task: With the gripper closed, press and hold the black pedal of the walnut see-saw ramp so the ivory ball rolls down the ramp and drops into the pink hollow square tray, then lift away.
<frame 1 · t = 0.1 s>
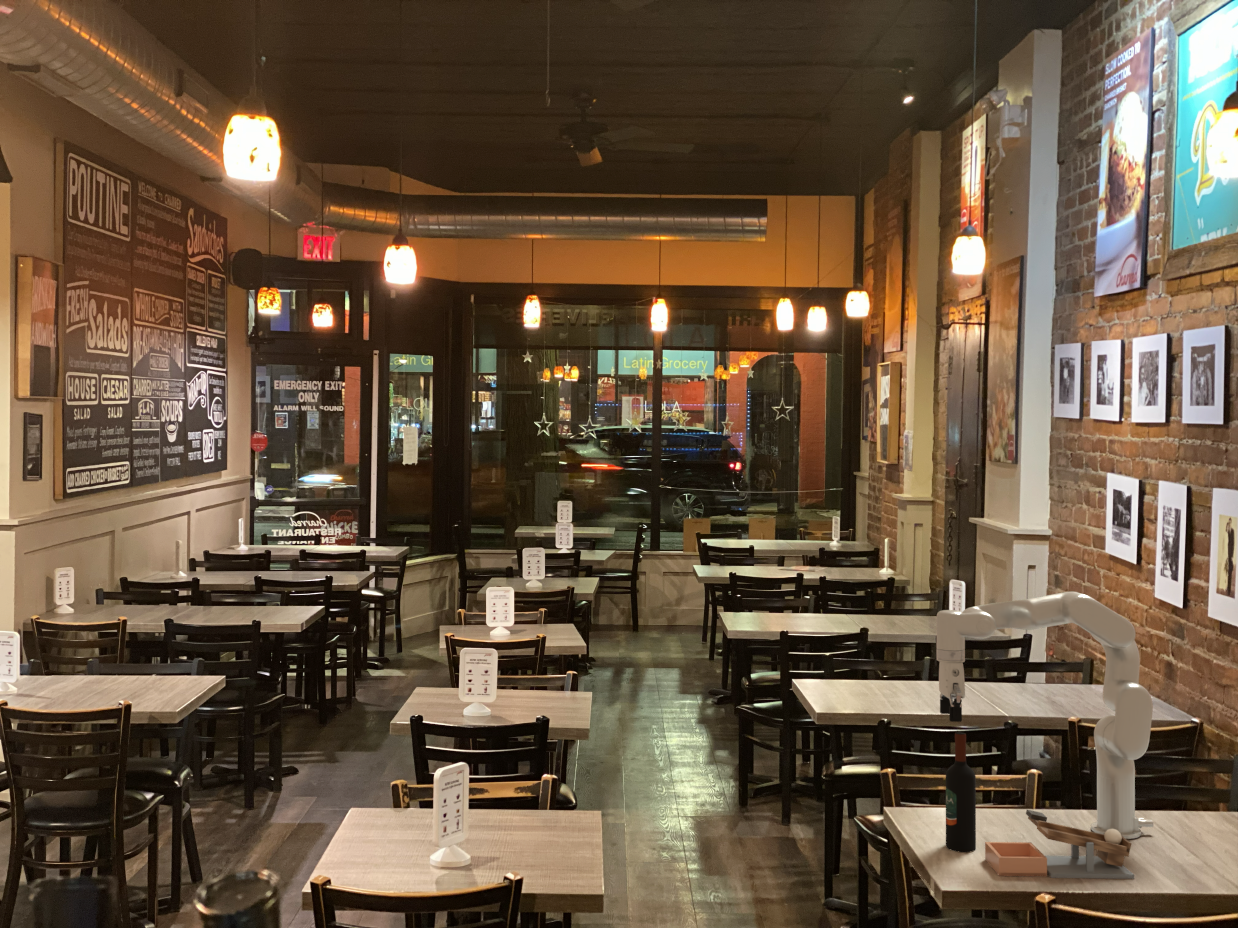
hand: (950, 717, 308), 31 cm above the table, tool pointing down, fingers open, 9 cm apart
wine bottle: (960, 847, 294), on the table
pink hollow square tray: (1015, 867, 279), on the table
ball: (1113, 836, 278), point 8 cm above the table, touching lever
stand: (1082, 868, 278), on the table
lever: (1075, 835, 283), point 7 cm above the table, hinge at -12.0°, touching ball
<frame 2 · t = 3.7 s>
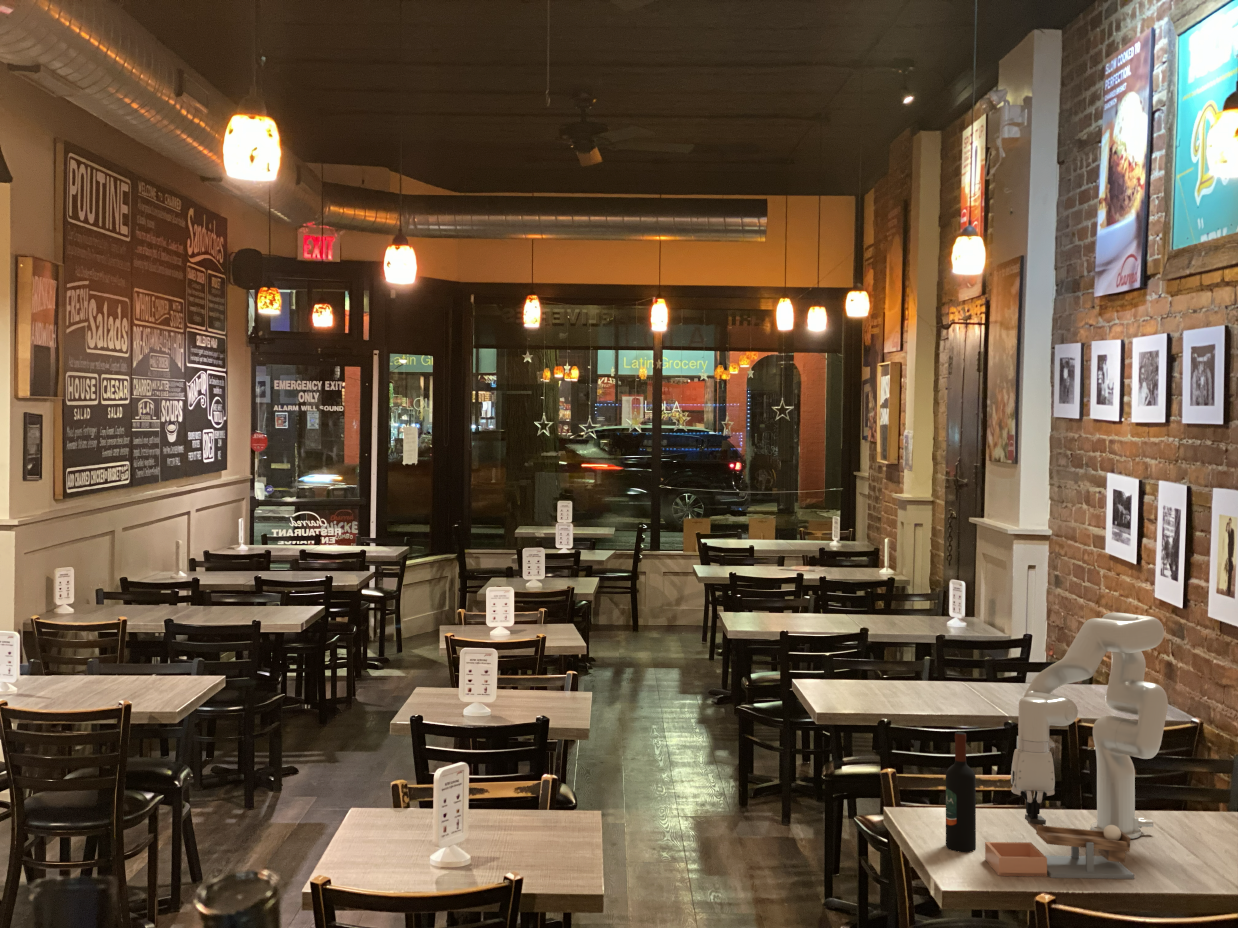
hand: (1032, 816, 289), 10 cm above the table, tool pointing down, fingers closed
lever: (1075, 835, 283), point 7 cm above the table, hinge at -4.7°, touching ball, gripper
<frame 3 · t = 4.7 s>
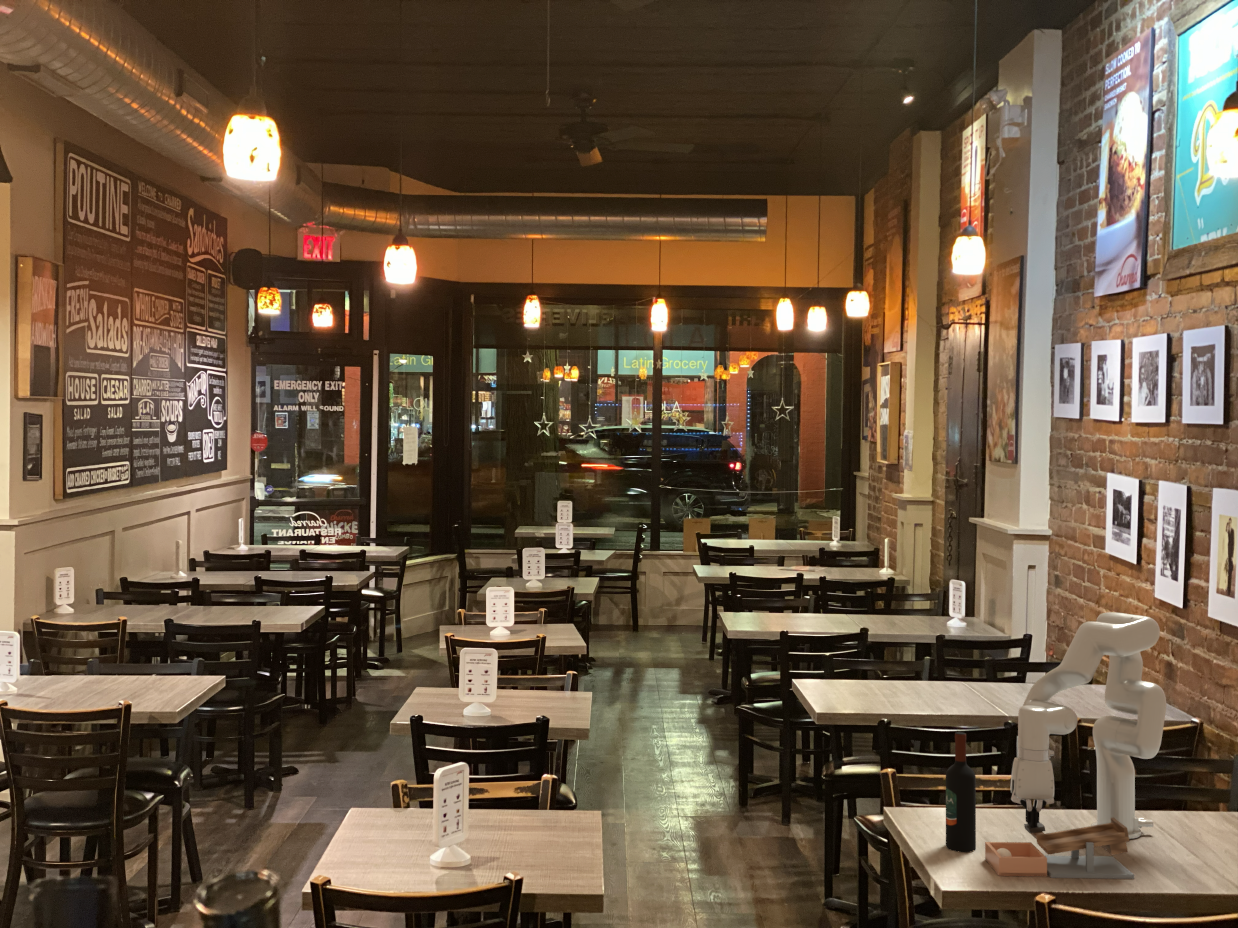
hand: (1032, 825, 289), 7 cm above the table, tool pointing down, fingers closed
ball: (1003, 856, 279), point 3 cm above the table, tilted 57°, touching pink hollow square tray
lever: (1075, 835, 283), point 7 cm above the table, hinge at 10.1°, touching gripper
everything else where it was.
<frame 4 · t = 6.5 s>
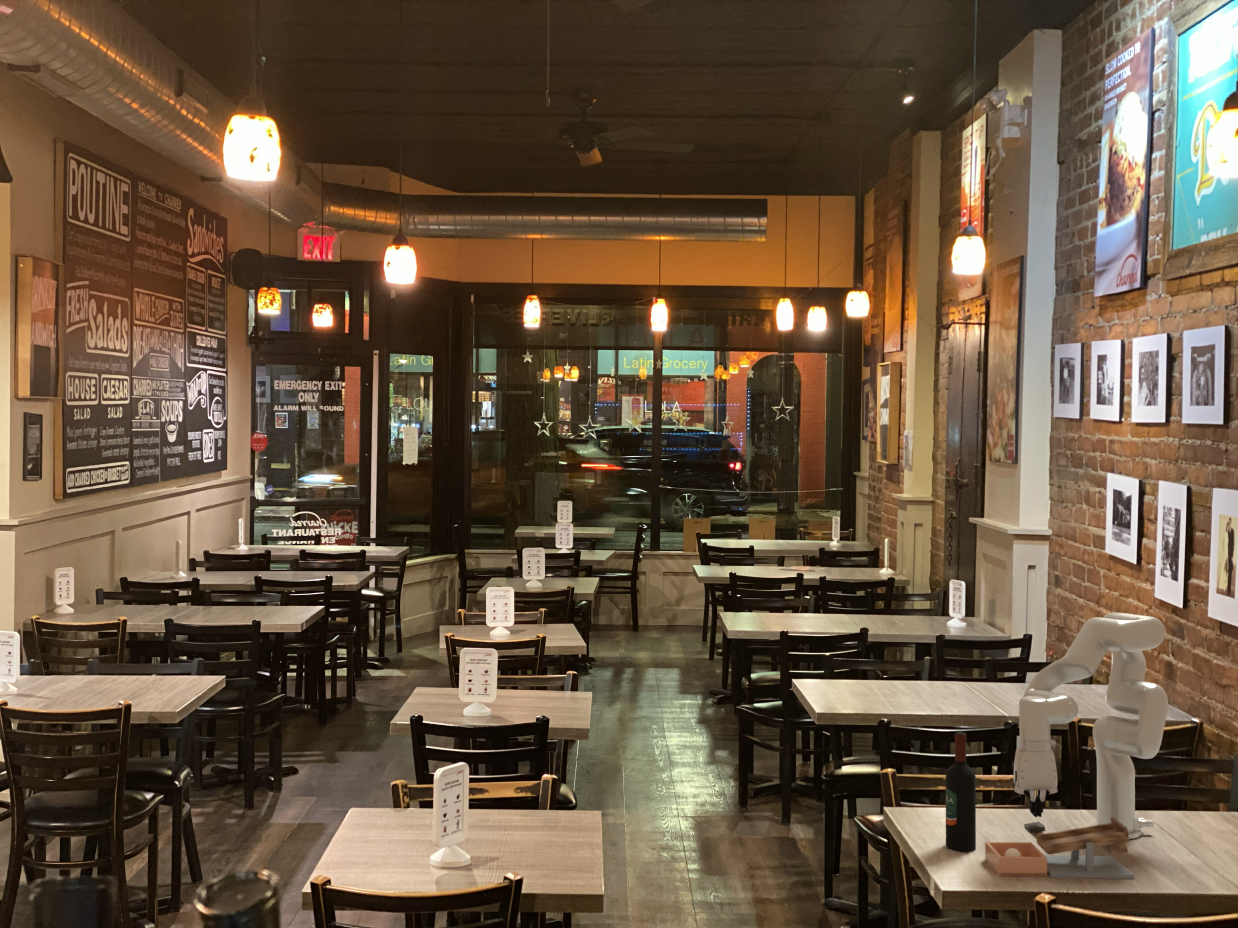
hand: (1036, 815, 290), 10 cm above the table, tool pointing down, fingers closed
ball: (1012, 856, 279), point 3 cm above the table, tilted 43°, touching pink hollow square tray
lever: (1075, 835, 283), point 7 cm above the table, hinge at 10.2°
everything else where it was.
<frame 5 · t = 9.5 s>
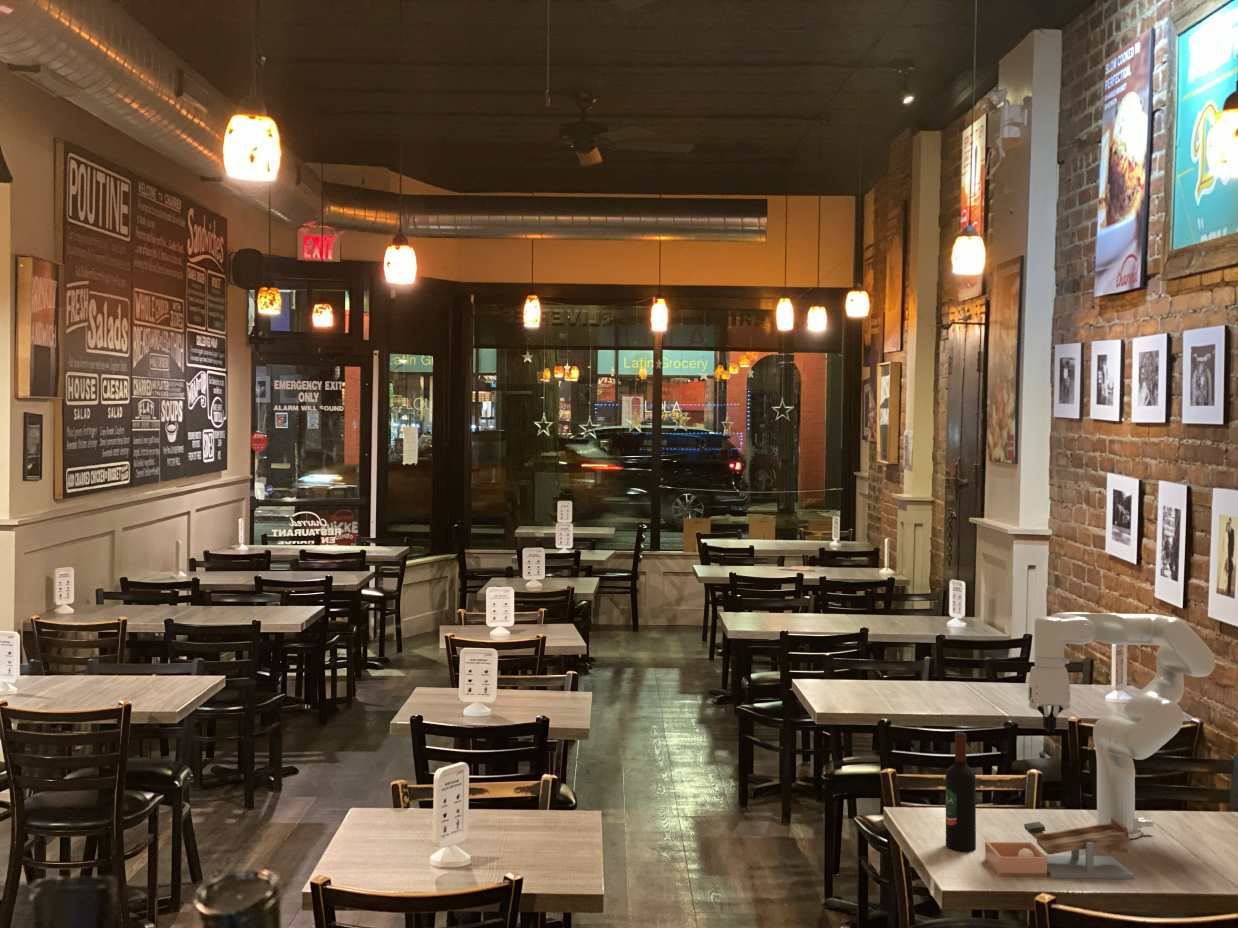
hand: (1049, 730, 301), 29 cm above the table, tool pointing down, fingers closed
ball: (1026, 856, 279), point 3 cm above the table, tilted 51°, touching pink hollow square tray
everything else where it was.
at the end: ball inside the target area on the pink hollow square tray (2.7 cm from its centre), point 2.8 cm above the pink hollow square tray's base; ball moved 21.8 cm from its start; wine bottle moved 0.2 cm from its start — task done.
